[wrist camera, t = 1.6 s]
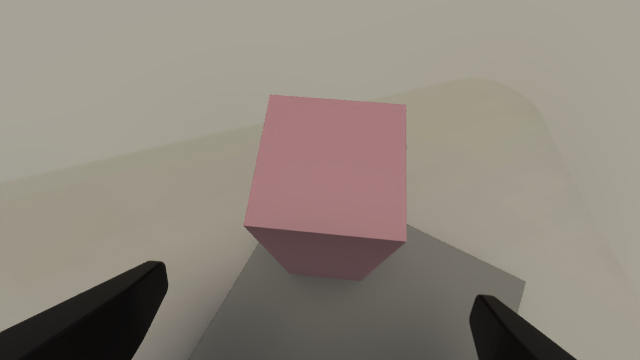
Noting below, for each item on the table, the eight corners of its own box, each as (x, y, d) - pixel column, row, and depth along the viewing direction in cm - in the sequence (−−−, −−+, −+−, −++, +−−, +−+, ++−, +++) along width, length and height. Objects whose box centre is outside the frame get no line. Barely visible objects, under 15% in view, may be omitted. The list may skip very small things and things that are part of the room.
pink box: (360, 280, 19) (406, 241, 8) (289, 273, 20) (243, 225, 9) (363, 211, 21) (405, 103, 10) (298, 205, 21) (270, 93, 10)
